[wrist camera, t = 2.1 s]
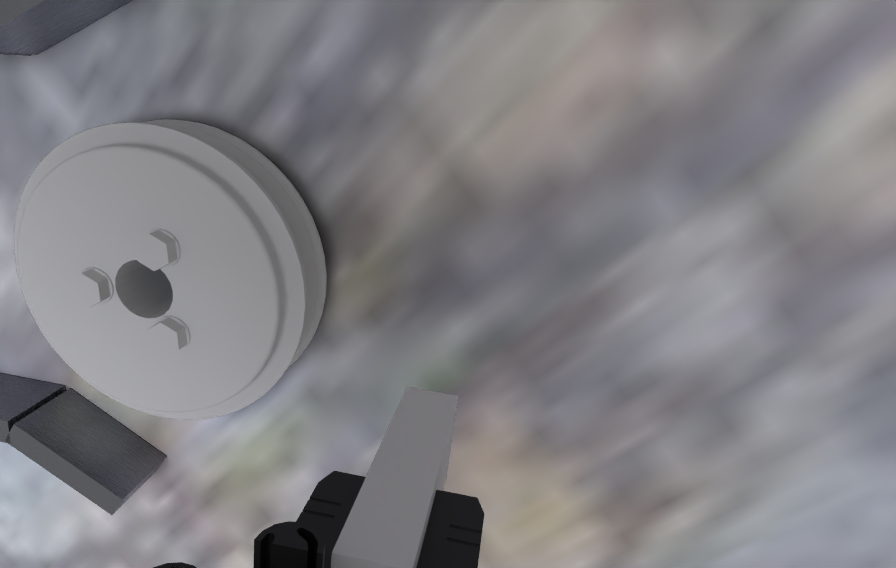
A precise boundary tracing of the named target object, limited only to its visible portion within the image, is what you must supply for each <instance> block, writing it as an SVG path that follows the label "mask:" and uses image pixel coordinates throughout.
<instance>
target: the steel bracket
mask: <svg viewBox="0 0 896 568" xmlns="http://www.w3.org/2000/svg"><path fill="white" fill-rule="evenodd" d="M130 1H131V0H0V54H12V55H28V56H31V54H36V55H37V54H39V53H41V52H43V51H44V50H46V49H48V48H50V47H51V46H53V45H55V44H57V43H58V42H60V41H62V40H63V39H65V38H67V37H69V36H70V35H72V34H74V33H76V32H77V31H79V30H81V29H83V28H84V27H86V26H88V25H90V24H91V23H93V22H95V21H97V20H98V19H100V18H102V17H104V16H105V15H107V14H109V13H111V12H112V11H114V10H116V9H118V8H119V7H121V6H123V5H124V4H126V3H128V2H130ZM0 441H1V442H5V443H8V444H10V445H11V446H13V447H14V448H16V449H17V450H19V451H20V452H21V453H23V454H24V455H26V456H27V457H29V458H30V459H32V460H33V461H34V462H36V463H37V464H39V465H40V466H42V467H43V468H45V469H46V470H47V471H49V472H50V473H52V474H53V475H55V476H56V477H58V478H59V479H60V480H62V481H63V482H65V483H66V484H68V485H69V486H71V487H72V488H73V489H75V490H76V491H78V492H79V493H81V494H82V495H84V496H85V497H86V498H88V499H89V500H91V501H92V502H94V503H95V504H97V505H98V506H99V507H101V508H102V509H104V510H105V511H107V512H108V513H110V514H111V515H113V514H114V513H115V512H116V511H117V510H118V509H119V508H120V507H121V506H122V505H123V504H124V503H125V502H126V501H127V500H128V499H129V498H130V497H131V496H132V495H133V494H134V493H135V492H136V491H137V490H138V489H139V488H140V487H141V486H142V485H143V484H144V483H145V482H146V481H147V480H148V479H149V478H150V477H151V476H152V475H153V474H154V473H155V472H156V471H157V469H158V468H159V466H160V465H161V463H162V462H163V461H164V459H165V458H166V455H164V454H163V453H161V452H160V451H158V450H157V449H156V448H154V447H153V446H151V445H150V444H149V443H147V442H146V441H144V440H143V439H142V438H140V437H139V436H137V435H136V434H134V433H133V432H132V431H130V430H129V429H127V428H126V427H125V426H123V425H122V424H120V423H119V422H118V421H116V420H115V419H113V418H112V417H110V416H109V415H108V414H106V413H105V412H103V411H102V410H101V409H99V408H98V407H96V406H95V405H93V404H92V403H91V402H89V401H88V400H86V399H85V398H84V397H82V396H81V395H79V394H78V393H77V392H75V391H74V390H72V389H71V388H70V389H68V390H66V391H65V386H64V385H59V384H54V383H49V382H43V381H38V380H33V379H28V378H23V377H18V376H13V375H7V374H2V373H0Z"/></svg>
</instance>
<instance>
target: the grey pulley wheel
mask: <svg viewBox="0 0 896 568" xmlns="http://www.w3.org/2000/svg"><path fill="white" fill-rule="evenodd" d="M14 256H15V263H16V270H17V274H18V278H19V282H20V285H21V289H22V292H23V295H24V297H25V300H26V302H27V305H28V307H29V310H30V312H31V314H32V316H33V318H34V319H35V321H36V323H37V325H38V327H39V329H40V330H41V332H42V334H43V335H44V336H45V338H46V339H47V341H48V342H49V343H50V345H51V346H52V347H53V349H54V350H55V351H56V352H57V353H58V355H59V356H60V357H61V358H62V359H63V360H64V362H65V363H66V364H67V365H69V366H70V367H71V368H72V369H73V370H74V371H75V372H76V373H77V374H78V375H79V376H80V377H81V378H83V379H84V380H85V381H87V382H88V383H89V384H90V385H92V386H93V387H94V388H96V389H97V390H99V391H100V392H102V393H104V394H105V395H107V396H108V397H110V398H112V399H113V400H115V401H117V402H119V403H122V404H124V405H126V406H128V407H130V408H132V409H135V410H138V411H141V412H144V413H147V414H150V415H155V416H159V417H164V418H169V419H180V420H199V419H209V418H214V417H219V416H224V415H227V414H229V413H232V412H235V411H238V410H240V409H242V408H244V407H246V406H248V405H249V404H251V403H253V402H255V401H256V400H258V399H259V398H260V397H261V396H263V395H264V394H265V393H267V392H268V391H269V390H270V389H271V388H272V387H273V386H274V385H275V384H276V383H277V382H278V381H279V379H280V378H281V377H282V375H283V374H284V373H285V371H286V370H287V369H288V368H289V367H290V366H291V365H292V364H293V363H294V362H295V361H296V360H297V359H298V358H299V357H300V356H301V354H302V353H303V352H304V350H305V349H306V348H307V347H308V345H309V343H310V342H311V340H312V338H313V336H314V334H315V332H316V331H317V328H318V325H319V322H320V320H321V317H322V314H323V309H324V304H325V298H326V284H327V274H326V264H325V256H324V252H323V247H322V243H321V239H320V236H319V233H318V231H317V228H316V225H315V223H314V220H313V218H312V216H311V214H310V212H309V210H308V208H307V206H306V205H305V203H304V201H303V199H302V197H301V196H300V195H299V193H298V192H297V190H296V189H295V188H294V186H293V185H292V183H291V182H290V181H289V180H288V178H287V177H286V176H285V175H284V174H283V173H282V172H281V171H280V170H279V169H278V168H277V167H276V165H275V164H273V163H272V162H271V161H270V160H269V159H268V158H266V157H265V156H264V155H263V154H262V153H260V152H259V151H258V150H257V149H255V148H254V147H252V146H250V145H249V144H247V143H246V142H244V141H243V140H241V139H240V138H238V137H235V136H233V135H231V134H229V133H227V132H225V131H223V130H221V129H218V128H215V127H212V126H208V125H205V124H202V123H198V122H191V121H185V120H161V119H160V120H152V121H146V122H139V123H115V124H107V125H103V126H99V127H95V128H91V129H88V130H85V131H83V132H81V133H78V134H76V135H74V136H72V137H70V138H68V139H67V140H65V141H64V142H62V143H61V144H59V145H58V146H56V147H55V148H54V149H53V150H52V151H51V152H50V153H49V154H48V155H47V156H46V157H45V158H44V159H43V160H42V161H41V162H40V163H39V165H38V166H37V167H36V169H35V170H34V172H33V173H32V174H31V176H30V178H29V180H28V182H27V184H26V186H25V188H24V190H23V192H22V195H21V198H20V201H19V205H18V208H17V212H16V219H15V226H14Z"/></svg>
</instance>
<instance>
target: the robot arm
mask: <svg viewBox="0 0 896 568" xmlns="http://www.w3.org/2000/svg"><path fill="white" fill-rule="evenodd" d="M457 401H458V396H456V395H450V394H445V393H439V392H434V391H428V390H423V389H417V388H412V387H406V389H405V392H404V394H403V396H402V398H401V400H400V403H399V405H398V407H397V409H396V411H395V414H394V416H393V418H392V420H391V423H390V425H389V427H388V429H387V431H386V434H385V436H384V438H383V440H382V443H381V445H380V447H379V449H378V451H377V454H376V456H375V458H374V460H373V463H372V465H371V467H370V469H369V471H368V474H367V476H366V477H363V476H358V475H353V474H348V473H343V472H338V471H333V472H332V473H330V474H329V475H328V476H326V477H325V478H324V479H322V480H321V481H320V482H318V484H317V486H316V488H315V489H314V491H313V493H312V495H311V496H310V500H308V502H307V504H306V505H305V507H304V509H303V512H301V514H300V516H299V518H298V519H297V521H296V522H284V523H279V524H275V525H273V526H271V527H269V528H267V529H265V530H263V531H262V532H261V533H260V534H259V535H258V536H257V537H256V538H255V539H254V568H477V567H478V559H479V551H480V543H481V535H482V527H483V519H484V512H483V510H482V508H481V505H480V503H479V500H478V498H476V497H471V496H466V495H461V494H456V493H451V492H446V491H443V489H444V485H445V481H446V476H447V469H448V463H449V456H450V449H451V442H452V435H453V428H454V422H455V415H456V408H457ZM154 568H196V567H195V566H193V565H189V564H185V563H182V562H181V563H166V564H163V565H160V566H157V567H154Z"/></svg>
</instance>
